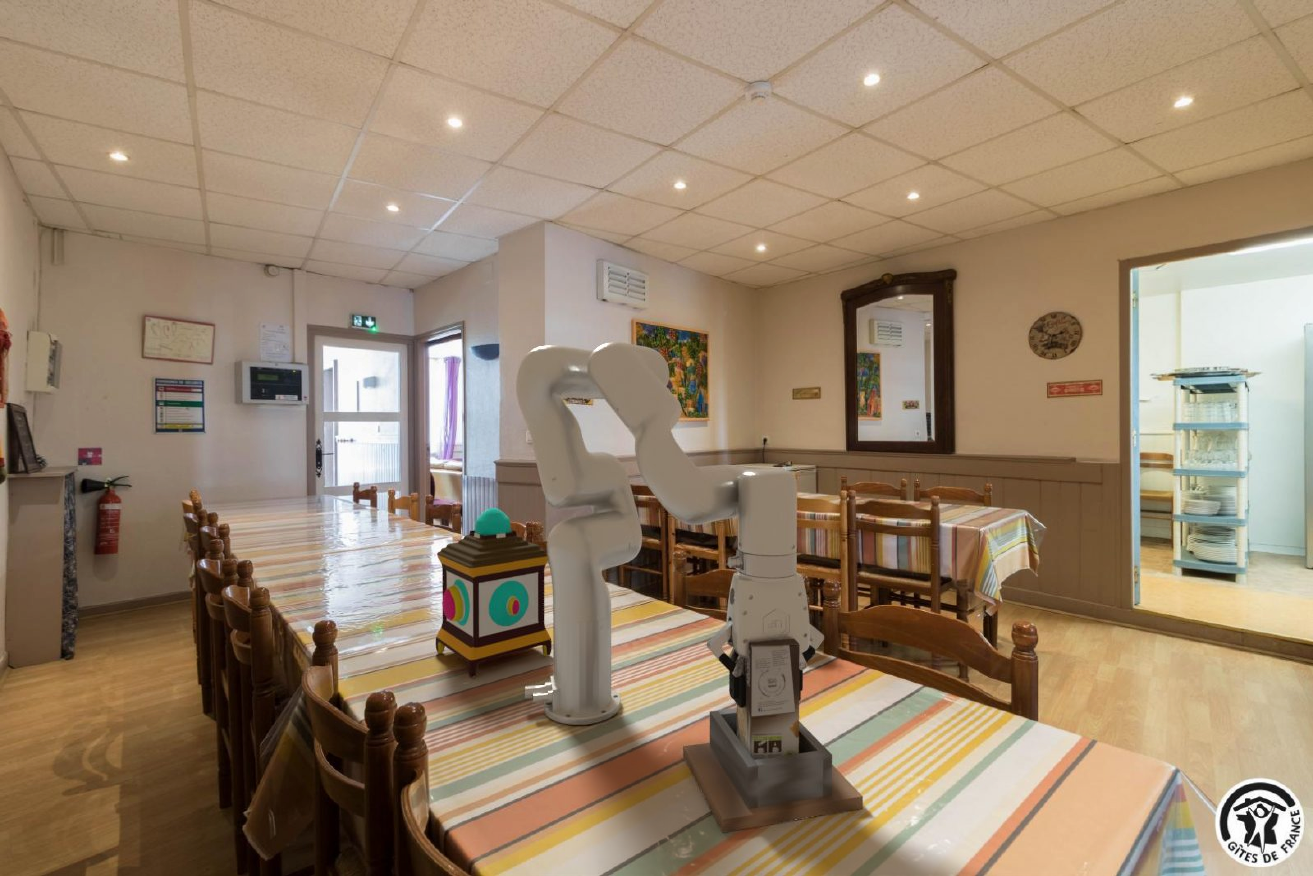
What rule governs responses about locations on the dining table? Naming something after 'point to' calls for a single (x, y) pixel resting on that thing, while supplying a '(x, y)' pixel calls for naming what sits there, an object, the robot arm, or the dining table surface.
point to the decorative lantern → (492, 593)
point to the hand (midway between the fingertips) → (766, 698)
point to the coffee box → (771, 700)
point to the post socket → (766, 779)
